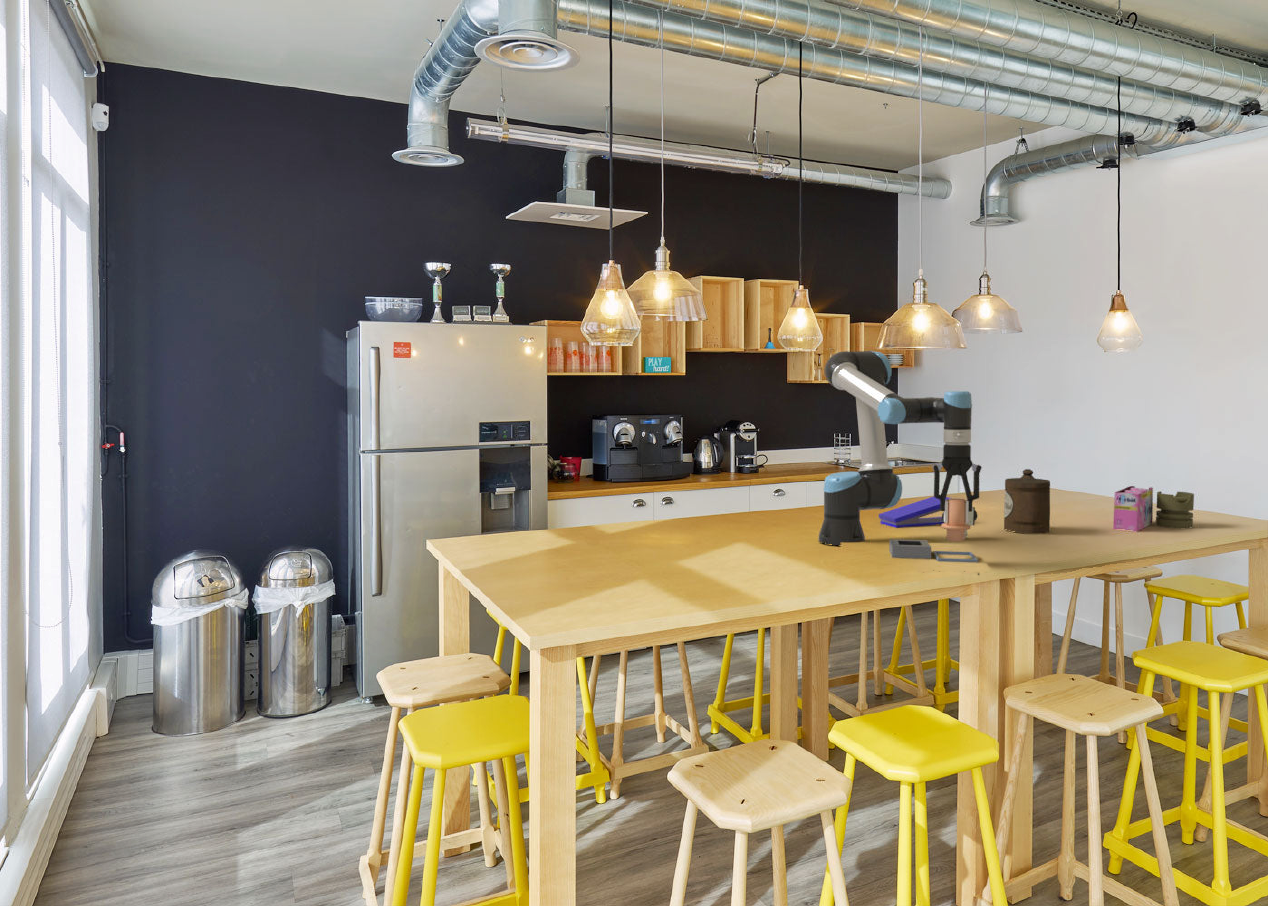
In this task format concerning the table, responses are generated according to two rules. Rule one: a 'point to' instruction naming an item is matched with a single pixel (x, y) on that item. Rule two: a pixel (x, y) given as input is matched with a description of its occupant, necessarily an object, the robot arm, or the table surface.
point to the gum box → (1133, 508)
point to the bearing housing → (910, 549)
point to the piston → (1175, 510)
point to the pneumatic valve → (971, 518)
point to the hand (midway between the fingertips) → (955, 522)
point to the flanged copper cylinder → (956, 520)
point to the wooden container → (1027, 504)
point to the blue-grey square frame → (955, 554)
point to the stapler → (913, 514)
